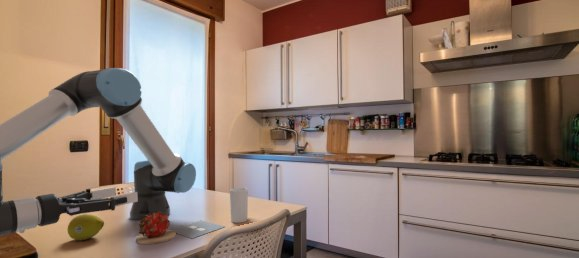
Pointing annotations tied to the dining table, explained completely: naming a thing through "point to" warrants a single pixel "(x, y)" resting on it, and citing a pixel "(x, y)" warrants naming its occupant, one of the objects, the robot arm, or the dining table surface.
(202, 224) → the grey square tile
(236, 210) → the mug
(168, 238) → the coaster
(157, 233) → the dragon fruit
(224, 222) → the dining table surface
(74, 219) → the green mango
